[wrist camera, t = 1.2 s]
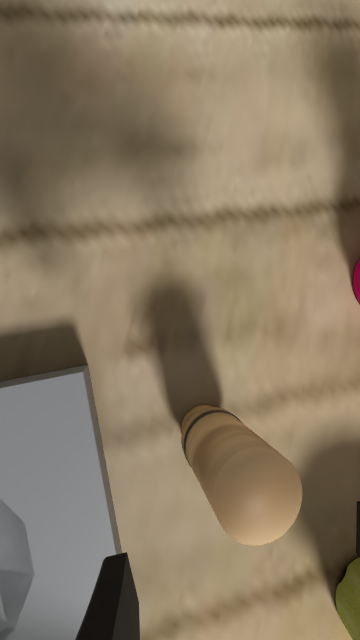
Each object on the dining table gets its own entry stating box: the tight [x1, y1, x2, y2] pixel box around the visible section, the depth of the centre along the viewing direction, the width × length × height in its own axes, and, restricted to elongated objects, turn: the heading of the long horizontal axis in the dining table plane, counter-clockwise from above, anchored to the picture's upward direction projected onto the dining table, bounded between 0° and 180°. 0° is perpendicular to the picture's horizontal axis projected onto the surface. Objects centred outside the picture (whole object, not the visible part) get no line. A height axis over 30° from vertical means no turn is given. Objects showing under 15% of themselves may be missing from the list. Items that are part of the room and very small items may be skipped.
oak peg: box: [181, 405, 302, 545], centre depth 18 cm, size 4×4×9 cm
